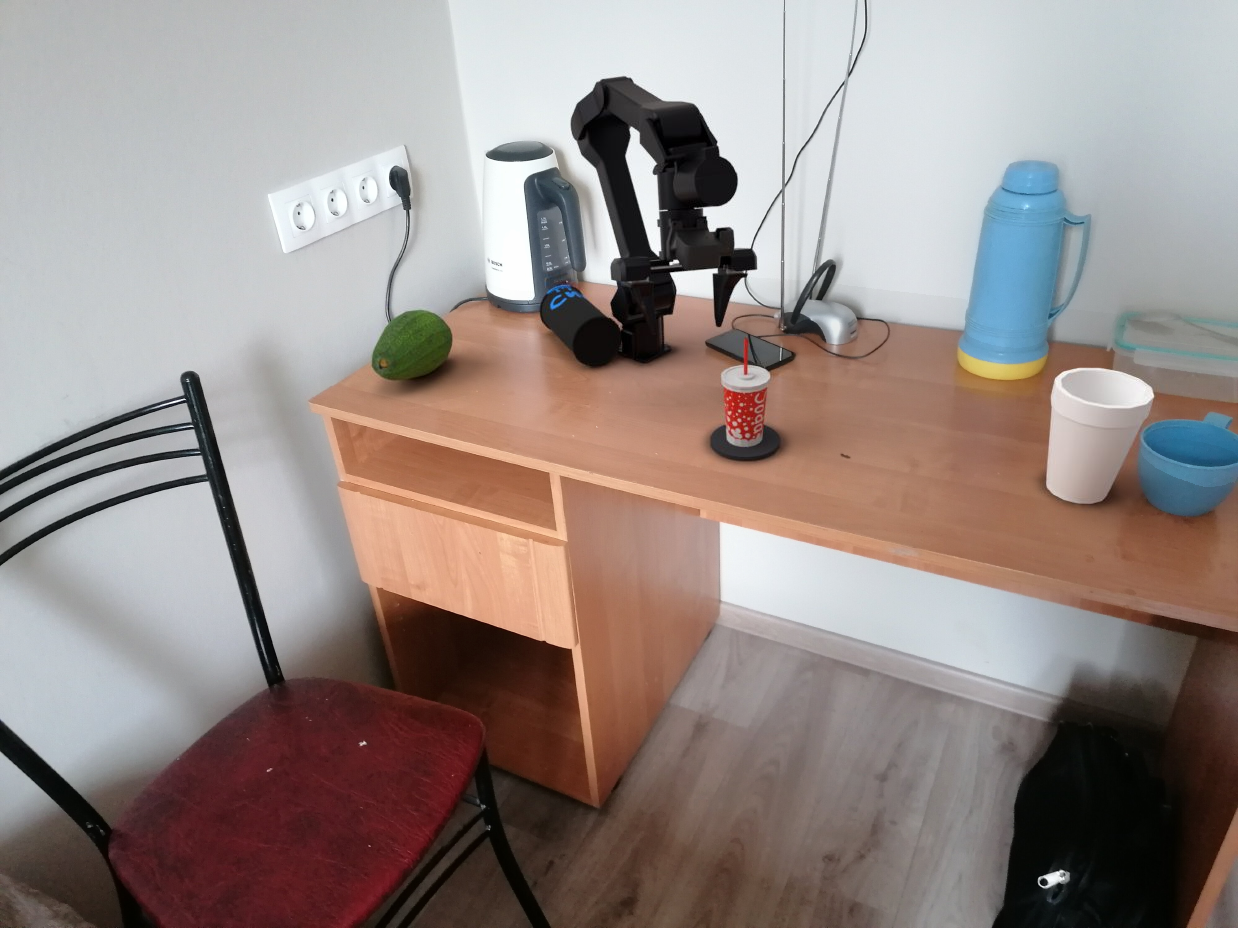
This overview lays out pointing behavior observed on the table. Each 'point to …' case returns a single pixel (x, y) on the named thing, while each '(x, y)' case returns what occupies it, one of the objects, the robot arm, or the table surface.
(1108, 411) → the foam cup
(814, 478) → the table surface
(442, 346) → the fruit
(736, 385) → the beverage cup
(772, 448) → the coaster
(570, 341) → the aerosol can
